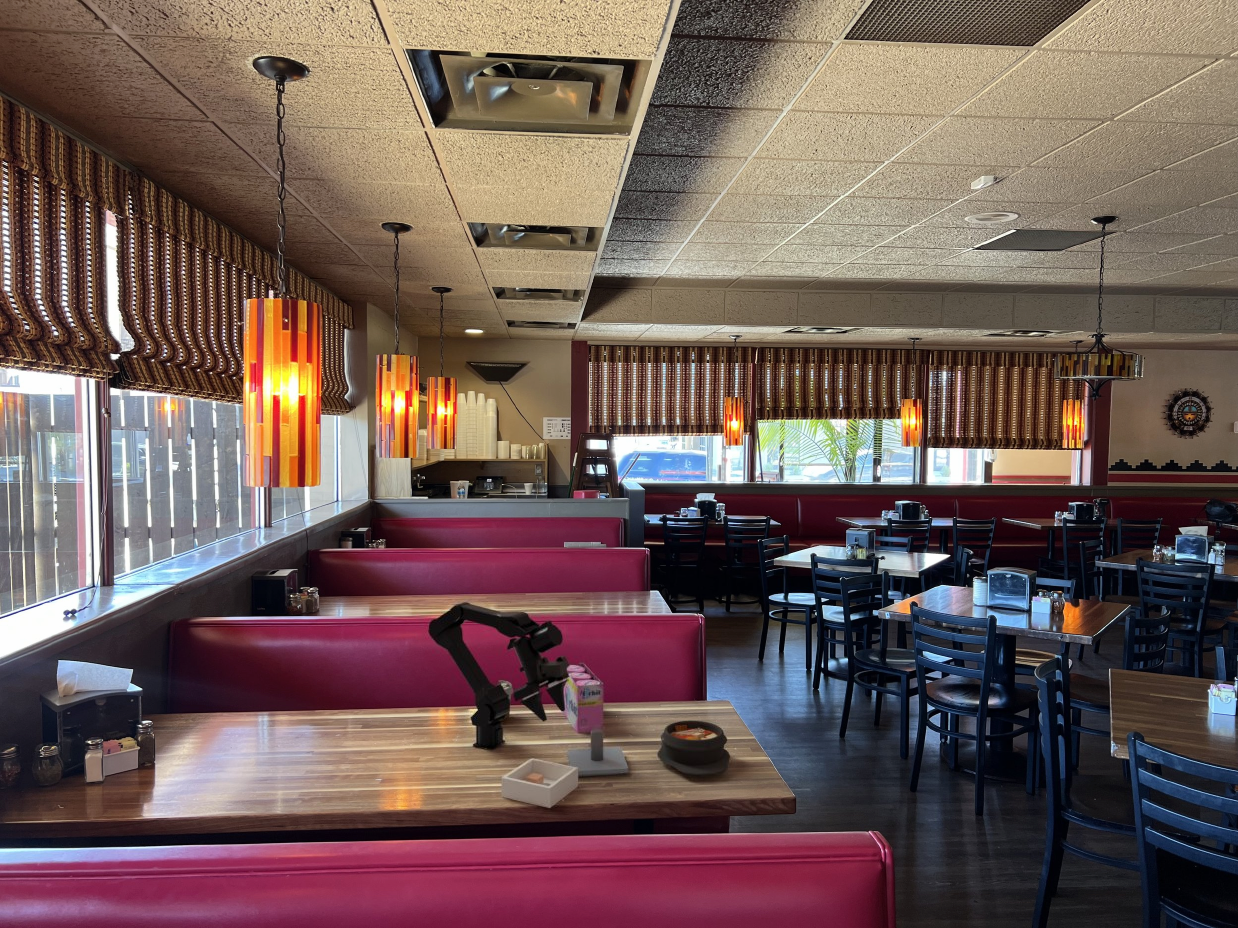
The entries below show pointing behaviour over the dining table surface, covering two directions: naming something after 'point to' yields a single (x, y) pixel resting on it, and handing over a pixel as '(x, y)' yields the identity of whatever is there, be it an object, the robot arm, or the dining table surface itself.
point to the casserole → (694, 748)
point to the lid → (597, 758)
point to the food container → (509, 691)
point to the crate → (540, 782)
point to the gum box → (583, 699)
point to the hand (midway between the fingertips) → (554, 715)
